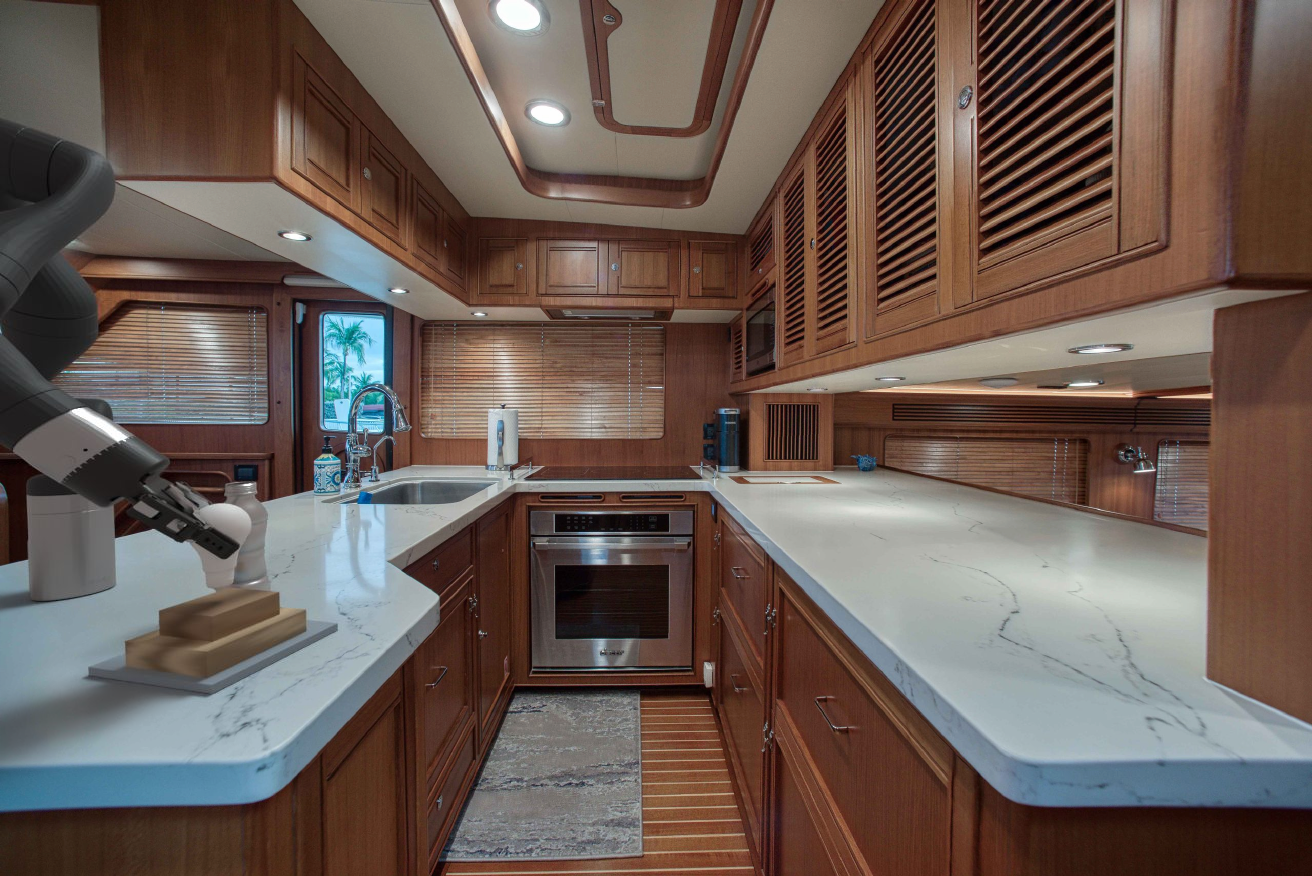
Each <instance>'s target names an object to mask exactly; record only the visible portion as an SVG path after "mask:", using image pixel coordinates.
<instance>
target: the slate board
mask: <svg viewBox="0 0 1312 876" xmlns="http://www.w3.org/2000/svg"><path fill="white" fill-rule="evenodd" d="M338 625H339V624H338V622H330V621H329V622H328V621H320V620H311V619H306V627H307V631H306V632H304V633H301V634H299V635H297V636H295V637H293V638H291V639H289V640H287V641H285V642H283V643H280V644H278V645H276V646H274V647H272V648H270V649H268V650H266V651H264V652H262V653H259V654H257V655H255V656H253V657H251V658H249V659H247V660H245V661H243V662H240V663H238V664H236V665H234V666H232V667H230V668H228V669H226V670H224V671H222V672H219V673H217V674H215V675H213V676H211V677H209V678H204V677H197V676H190V675H183V674H176V673H169V672H162V671H155V670H148V669H141V668H134V667H127V666H126V658H125V653H122V654H120V655H118V656H114V657H112V658H108V659H106V660H104V661H103V660H102V661H100V662H98V663H95V664H93V665H90V666H88V668H87V669H88V670H87V671H88V676H89V677H97V678H104V679H112V680H116V681H122V682H129V681H130V682H131V683H136V684H142V683H143V684H142V685H151V686H157V687H162V688H170V689H176V690H184V691H188V692H189V691H191V692H197V693H203V694H209V695H214V694H215V693H218V692H219V691H221V690H223V689H225V688H227V687H229V686H230V685H232V684H235V683H237V682H239V681H240V680H242V679H244V678H247V677H249V676H250V675H253V674H255V673H256V672H259V671H260V670H262V669H264V668H266V667H269V666H270V665H272V664H274V663H276V662H278V661H279V660H282V659H284V658H286V657H287V656H290V655H292V654H294V653H295V652H297V651H300V650H302V649H304V648H305V647H307V646H310V645H311V644H313V643H315V642H317V641H319V640H322V639H323V638H325V637H328V636H329V635H331V634H333V633H335V632H336V631H337V632H338V630H339V629H338V628H339V626H338Z"/></svg>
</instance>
